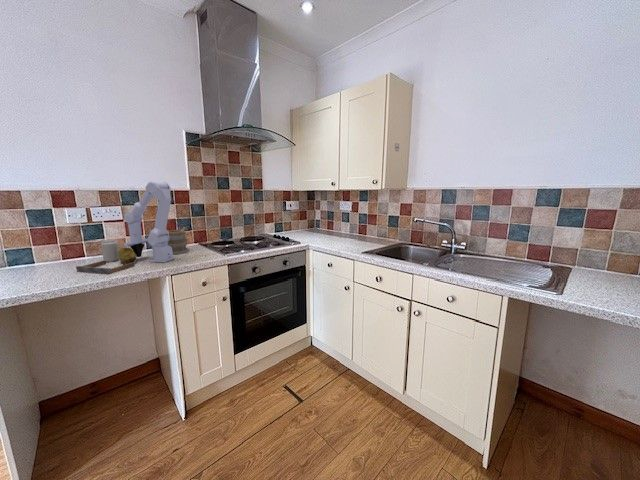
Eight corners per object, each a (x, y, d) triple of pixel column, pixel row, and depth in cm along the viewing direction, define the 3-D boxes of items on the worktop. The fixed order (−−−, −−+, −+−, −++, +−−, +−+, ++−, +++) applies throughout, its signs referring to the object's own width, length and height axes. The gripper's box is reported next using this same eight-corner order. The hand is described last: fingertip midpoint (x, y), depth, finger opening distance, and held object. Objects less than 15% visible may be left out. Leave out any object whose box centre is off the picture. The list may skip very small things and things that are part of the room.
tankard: (179, 255, 163) (177, 231, 160) (161, 254, 164) (157, 230, 162) (198, 248, 182) (196, 226, 180) (181, 247, 184) (179, 226, 181)
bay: (134, 266, 140) (134, 261, 140) (109, 274, 127) (108, 269, 127) (104, 264, 145) (103, 259, 144) (76, 271, 132) (75, 266, 131)
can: (111, 262, 147) (107, 241, 145) (100, 262, 149) (96, 241, 146) (123, 259, 154) (120, 239, 152) (112, 258, 156) (109, 238, 154)
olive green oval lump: (117, 266, 140) (115, 251, 138) (119, 261, 150) (117, 247, 149) (136, 264, 144) (134, 249, 143) (137, 259, 155) (135, 245, 153)
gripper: (141, 231, 159) (144, 253, 161) (117, 235, 145) (121, 259, 148) (150, 231, 157) (153, 254, 160) (128, 236, 143) (131, 260, 146)
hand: (138, 256), depth 154 cm, fingers closed
